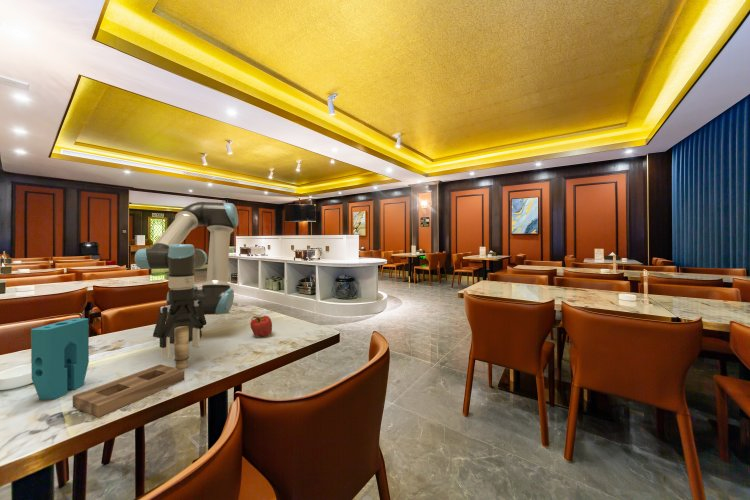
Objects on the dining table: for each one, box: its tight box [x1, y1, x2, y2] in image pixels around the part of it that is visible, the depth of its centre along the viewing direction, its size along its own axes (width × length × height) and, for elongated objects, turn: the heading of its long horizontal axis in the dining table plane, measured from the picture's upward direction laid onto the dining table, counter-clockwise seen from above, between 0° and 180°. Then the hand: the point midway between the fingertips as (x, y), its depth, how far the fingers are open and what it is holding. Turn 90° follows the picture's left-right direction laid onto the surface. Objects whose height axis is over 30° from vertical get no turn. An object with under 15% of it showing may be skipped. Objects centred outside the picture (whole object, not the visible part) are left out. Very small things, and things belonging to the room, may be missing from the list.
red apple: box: [249, 315, 273, 338], centre depth 138 cm, size 11×10×10 cm
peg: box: [174, 326, 190, 370], centre depth 103 cm, size 4×4×14 cm
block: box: [30, 317, 90, 401], centre depth 85 cm, size 12×5×20 cm, turn 1°
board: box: [72, 363, 185, 418], centre depth 86 cm, size 12×22×3 cm, turn 158°
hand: (181, 350), depth 103 cm, fingers open, 10 cm apart
